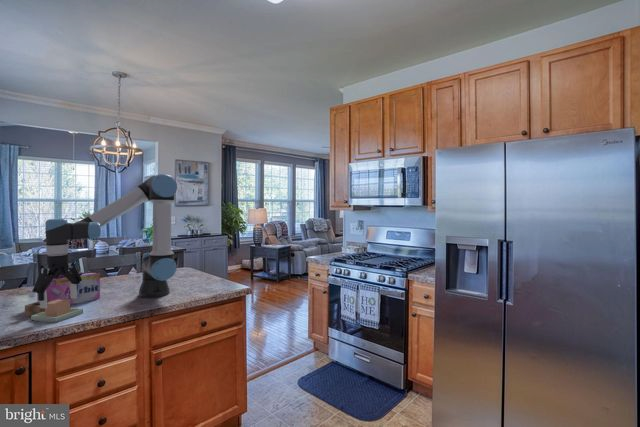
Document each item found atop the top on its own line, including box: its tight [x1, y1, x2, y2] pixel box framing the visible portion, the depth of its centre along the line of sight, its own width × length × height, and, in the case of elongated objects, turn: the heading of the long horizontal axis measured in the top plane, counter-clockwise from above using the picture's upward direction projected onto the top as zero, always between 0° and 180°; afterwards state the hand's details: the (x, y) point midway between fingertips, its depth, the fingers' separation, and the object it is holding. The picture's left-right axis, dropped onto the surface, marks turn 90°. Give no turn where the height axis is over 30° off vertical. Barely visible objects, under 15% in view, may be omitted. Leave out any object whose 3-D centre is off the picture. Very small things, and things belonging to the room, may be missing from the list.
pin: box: [36, 291, 46, 305], centre depth 147 cm, size 3×3×12 cm
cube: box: [45, 299, 71, 317], centre depth 143 cm, size 6×6×6 cm
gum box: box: [46, 270, 101, 305], centre depth 163 cm, size 24×8×14 cm, turn 145°
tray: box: [30, 307, 84, 323], centre depth 143 cm, size 13×13×2 cm
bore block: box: [24, 301, 51, 317], centre depth 147 cm, size 8×8×4 cm
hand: (59, 303), depth 143 cm, fingers open, 13 cm apart
